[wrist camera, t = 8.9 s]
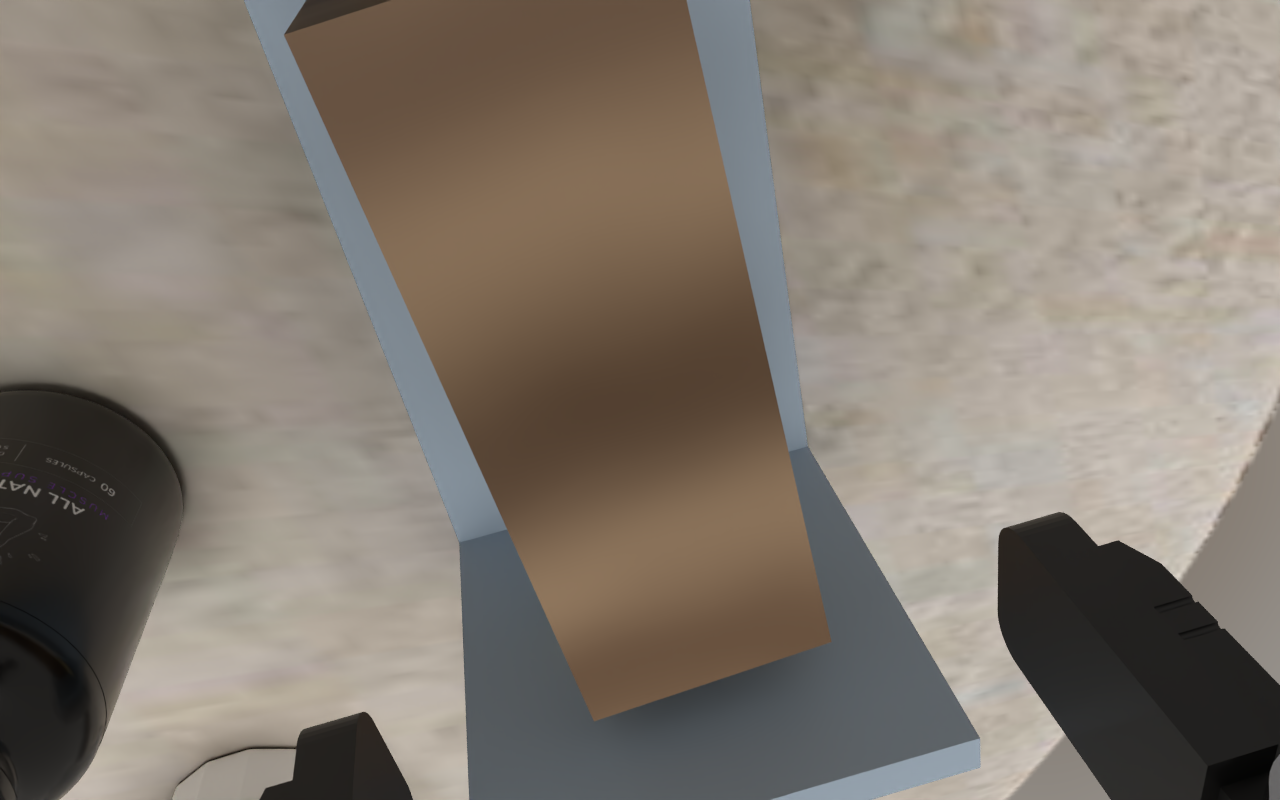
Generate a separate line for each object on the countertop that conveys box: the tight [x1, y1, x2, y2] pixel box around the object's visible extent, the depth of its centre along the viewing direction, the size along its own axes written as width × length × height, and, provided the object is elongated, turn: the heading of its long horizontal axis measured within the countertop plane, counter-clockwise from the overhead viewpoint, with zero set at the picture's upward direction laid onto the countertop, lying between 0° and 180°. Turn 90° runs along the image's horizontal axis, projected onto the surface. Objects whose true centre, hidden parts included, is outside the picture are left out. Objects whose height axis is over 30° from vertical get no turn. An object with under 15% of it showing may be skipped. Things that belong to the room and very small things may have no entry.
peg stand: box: [244, 0, 980, 800], centre depth 21 cm, size 20×11×12 cm, turn 12°
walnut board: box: [284, 0, 832, 721], centre depth 19 cm, size 15×6×4 cm, turn 15°
